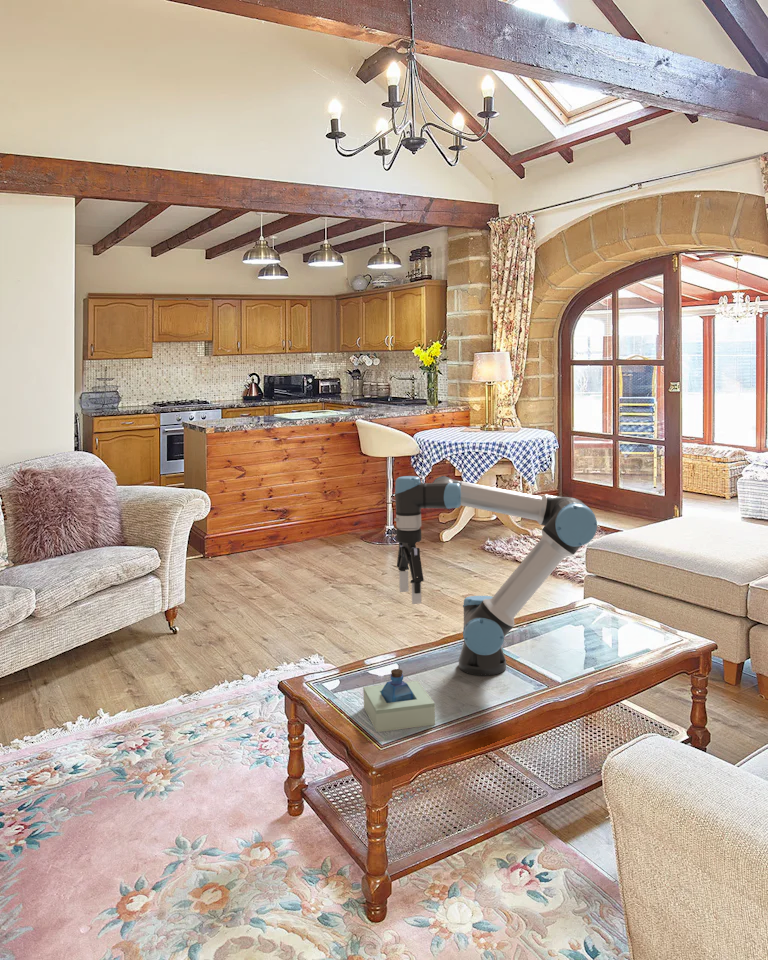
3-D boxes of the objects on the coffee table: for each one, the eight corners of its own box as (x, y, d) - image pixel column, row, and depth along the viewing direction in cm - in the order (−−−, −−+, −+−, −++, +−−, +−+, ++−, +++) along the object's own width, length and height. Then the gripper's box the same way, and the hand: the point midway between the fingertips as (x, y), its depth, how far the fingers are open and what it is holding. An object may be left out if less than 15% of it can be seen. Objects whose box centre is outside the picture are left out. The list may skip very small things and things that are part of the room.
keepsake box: (418, 700, 217) (417, 680, 216) (435, 724, 201) (434, 703, 201) (363, 707, 213) (363, 687, 212) (376, 732, 198) (376, 710, 197)
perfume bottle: (382, 711, 208) (381, 670, 207) (401, 706, 211) (400, 665, 210) (393, 720, 203) (392, 677, 201) (413, 714, 206) (412, 672, 204)
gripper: (386, 522, 236) (387, 588, 238) (408, 536, 212) (409, 610, 214) (409, 520, 237) (410, 585, 240) (433, 534, 213) (434, 607, 216)
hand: (410, 597), depth 227 cm, fingers open, 13 cm apart
